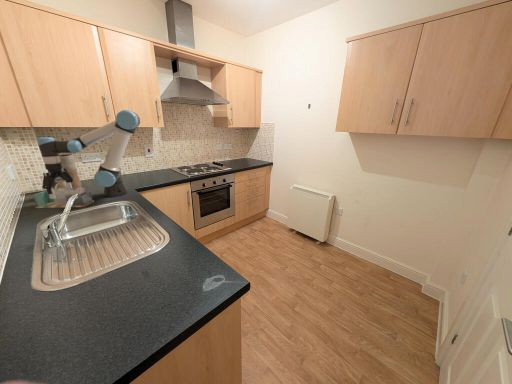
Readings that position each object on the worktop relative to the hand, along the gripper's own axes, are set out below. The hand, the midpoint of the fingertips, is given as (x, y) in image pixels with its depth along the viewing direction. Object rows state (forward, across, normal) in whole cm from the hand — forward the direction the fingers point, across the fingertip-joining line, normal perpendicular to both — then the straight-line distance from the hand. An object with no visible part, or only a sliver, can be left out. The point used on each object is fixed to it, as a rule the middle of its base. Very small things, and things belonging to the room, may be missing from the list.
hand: (62, 194), depth 132 cm
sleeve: (+7, 0, +10) cm, 12 cm away
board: (+7, 0, 0) cm, 7 cm away
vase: (+7, -37, -22) cm, 44 cm away
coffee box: (+7, -17, -17) cm, 25 cm away
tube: (+6, 0, +5) cm, 8 cm away
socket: (+7, 0, -12) cm, 14 cm away
